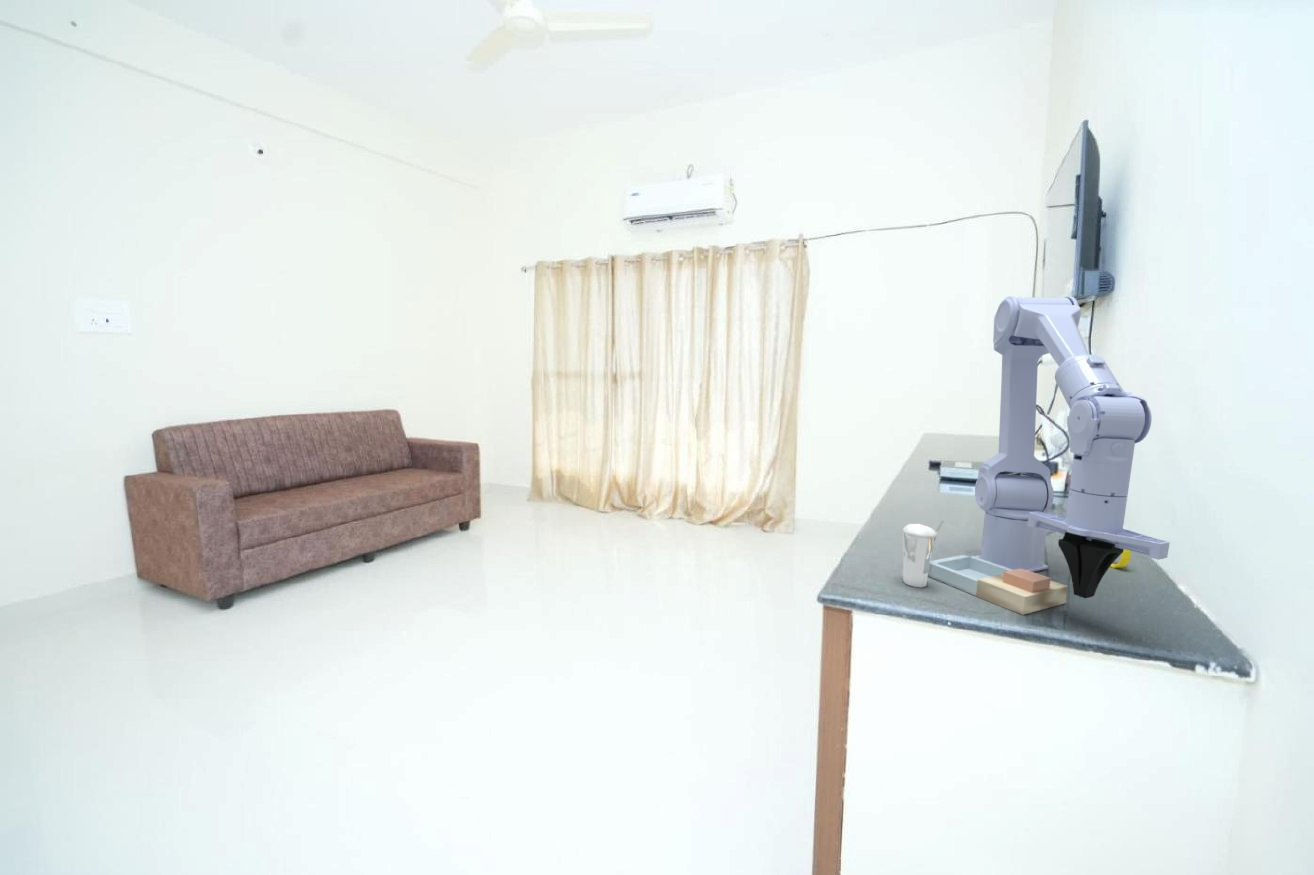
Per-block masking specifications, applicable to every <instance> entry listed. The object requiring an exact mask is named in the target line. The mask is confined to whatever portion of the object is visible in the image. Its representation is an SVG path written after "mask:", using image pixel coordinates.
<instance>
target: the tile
mask: <svg viewBox="0 0 1314 875" xmlns="http://www.w3.org/2000/svg"><path fill="white" fill-rule="evenodd" d="M1050 581H1052V578H1051V577H1048V576H1046V575H1043V574H1039V573H1037V572H1035V571H1034V572H1031V571H1028V570H1025V569H1022V568H1020V569H1015V570H1011V571H1006V572H1004V576H1003V582H1004V583H1007V584H1009V585H1012V586H1015V587H1018V588H1020V589H1023V590H1026V591H1029V592H1031V593H1033V592H1037V591H1041V590H1045V589H1049V588H1050Z"/></svg>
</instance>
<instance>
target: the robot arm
mask: <svg viewBox="0 0 1314 875" xmlns="http://www.w3.org/2000/svg"><path fill="white" fill-rule="evenodd" d="M1081 312H1082V309H1081V307H1080V304H1079V303H1078V300H1077V299H1076V298H1075V297H1073V296H1065V297H1042V296H1041V297H1036V296H1035V297H1032V296H1031V297H1028V296H1027V297H1026V296H1025V297H1022V296H1019V297H1016V296H1013V295H1010V296H1006V297H1005V298H1004V299H1003V300H1002V301H1001V302H1000V304H999V305H998V308H997V310H996V312H995V315H994V318H993V319H994V320H993V338H992V339H993V342H992V343H993V351H995V352H996V353H997V354H999V355H1001V382H1000V383H1001V384H1000V405H999V408H1000V410H999V429H998V430H999V431H998V432H999V433H998V434H999V435H998V453H997V454H996V455H995V456H992V457H991V458H990V459H988V460H986V461H985V462H983V463H981V465H979V468H978V473H977V474H978V475H977V479H976V482H975V486H974V497H975V502H976V504H977V505H978V506H979V508H980V509H981V510H982V511H984V516H983V517H984V518H983V519H984V520H983V527H982V537H981V544H980V554H979V555H973V556H974V557H977V558H980V559H983V560H986V561H989V562H992V563H995V564H998V565H1001V566H1004V567H1006V568H1009V569H1012V570H1015V569H1020V568H1022V569H1025V570H1028V571H1031V572H1034V573H1035V572H1039V571H1042V570H1047V569H1049V565H1047V564H1045V563H1043V560H1044V553H1045V547H1046V546H1045V545H1046V539H1047V531H1051V532H1055V533H1059V534H1062V535H1063V538H1059V539H1058V542H1057V543H1058V547H1059V549H1060V551H1061V552H1062V555H1063V557H1064V559H1065V561H1066V564H1067V567H1068V570H1069V573H1070V578H1071V584H1072V590H1073V595H1074V596H1078V597H1079V598H1083V599H1089V598H1093V597H1094V596H1095V594H1096V591H1097V589H1098V588H1099V587H1098V586H1099V585H1100V583H1101V581H1102V579H1103V578H1104V576H1105V574H1106V573H1107V571H1108V569H1109V568H1110V567H1111V564H1112V563H1115V562H1116V560H1117V559H1118V558H1119V557H1120V556H1122V553H1123V551H1124V549H1125V550H1129V551H1131V552H1133V553H1137V554H1141V555H1144V556H1147V557H1148V558H1150V559H1155V560H1157V561H1158V560H1163V559H1168V555H1169V550H1170V549H1169V548H1170V544H1171V542H1170V541H1167V540H1162V539H1159V538H1156V537H1153V536H1152V537H1151V536H1149V535H1146V534H1142V533H1139V532H1136V531H1132V530H1129V529H1126V528H1124V522H1125V518H1126V517H1125V516H1126V511H1127V510H1126V508H1127V502H1128V494H1129V488H1130V481H1131V474H1132V467H1133V461H1134V460H1133V459H1134V454H1135V446H1136V444H1137V443H1140V442H1142V441H1143V440H1144V439H1145V438H1146V437H1147V436H1148V433H1149V432H1150V430H1151V426H1152V411H1151V409H1150V405H1149V404H1148V401H1147V400H1146V399H1145V397H1143V396H1139V395H1133V394H1132V392H1130V391H1129V392H1126V391H1124V389H1123V388H1122V385H1120V383H1119V381H1118V380H1117V378H1116V376H1115V375H1114V374H1113V372H1112V370H1111V369H1110V366H1108V363H1107V362H1106V361H1105V359H1104V358H1103V357H1102V356H1099V355H1096V354H1090V353H1089V351H1088V349H1087V347H1086V344H1085V341H1084V340H1083V337H1082V335H1081V333H1080V330H1079V328H1078V326H1079V324H1080V321H1081V320H1080V318H1081ZM1048 354H1049V355H1050V356H1051V357H1052V359H1053V360H1054V361H1055V364H1057V365H1058V368H1057V369H1056V370H1055V373H1054V379H1055V383H1056V384H1057V386H1058V388H1059V390H1060V392H1061V394H1062V396H1063V398H1064V400H1065V401H1066V404H1067V406H1068V408H1069V409H1070V411H1069V413H1068V415H1067V417H1066V424H1067V431H1068V434H1069V444H1068V445H1069V447H1068V448H1069V452H1070V453H1072V454H1073V456H1072V457H1073V459H1072V466H1071V472H1070V482H1069V488H1068V498H1067V505H1066V512H1065V516H1064V515H1057V514H1053V513H1047V512H1049V510H1050V509H1051V508H1052V506H1053V502H1054V500H1055V499H1054V498H1055V497H1054V496H1055V494H1054V493H1055V492H1054V487H1053V485H1052V479H1051V469H1050V468H1049V467H1048V466H1046V464H1044V463H1042V462H1041V461H1040V460H1039V459H1038V458H1036V456H1035V449H1036V448H1035V446H1036V444H1035V443H1036V421H1037V420H1036V416H1037V396H1038V395H1037V394H1038V393H1037V391H1038V366H1039V364H1038V363H1039V361H1040V359H1041V358H1042V356H1044V355H1048ZM1001 472H1012V473H1023V474H1026V475H1023V474H1022V475H1021V474H1020V475H1019V474H1007V473H1004V474H1003V473H1001Z"/></svg>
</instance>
